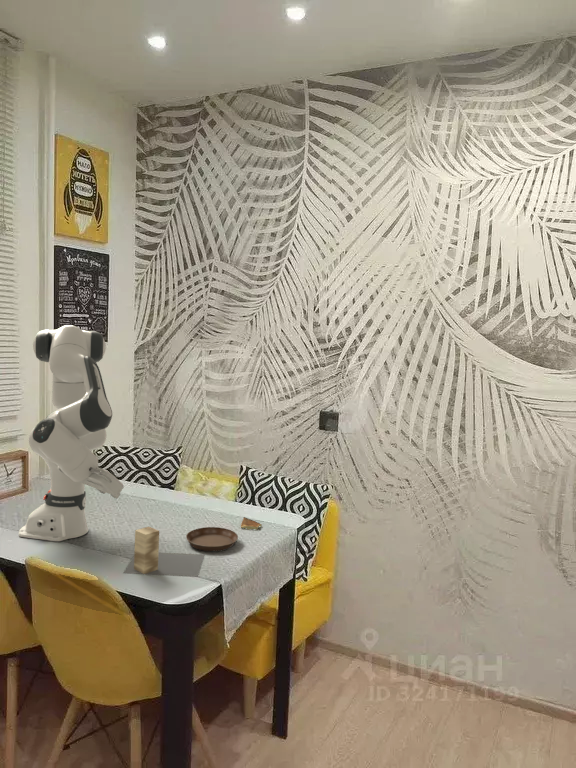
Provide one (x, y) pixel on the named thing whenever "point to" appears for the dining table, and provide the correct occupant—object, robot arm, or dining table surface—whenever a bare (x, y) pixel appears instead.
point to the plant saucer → (212, 538)
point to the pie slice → (250, 524)
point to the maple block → (146, 550)
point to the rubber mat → (173, 565)
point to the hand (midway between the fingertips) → (111, 493)
